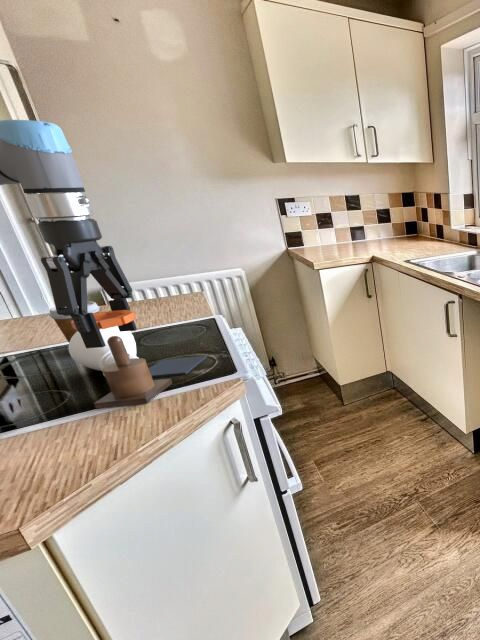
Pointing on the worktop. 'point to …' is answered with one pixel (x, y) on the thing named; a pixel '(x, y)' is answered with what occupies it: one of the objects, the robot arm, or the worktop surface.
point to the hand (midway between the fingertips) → (113, 338)
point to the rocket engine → (100, 349)
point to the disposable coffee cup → (65, 322)
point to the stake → (128, 379)
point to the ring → (111, 318)
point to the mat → (175, 366)
